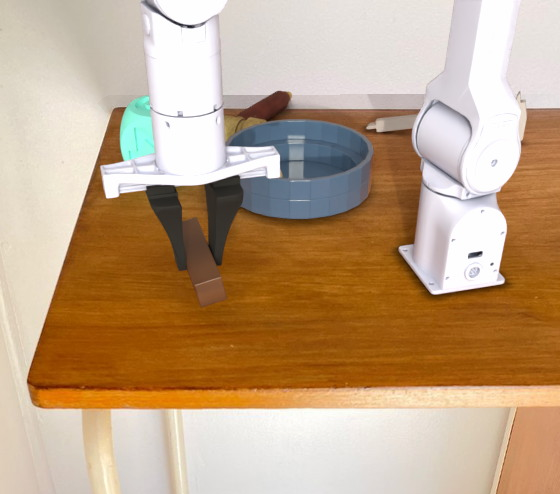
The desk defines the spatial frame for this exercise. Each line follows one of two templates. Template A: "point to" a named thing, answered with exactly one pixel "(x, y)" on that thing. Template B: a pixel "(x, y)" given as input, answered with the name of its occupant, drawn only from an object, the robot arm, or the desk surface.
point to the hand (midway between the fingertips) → (198, 262)
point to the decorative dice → (137, 130)
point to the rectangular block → (201, 265)
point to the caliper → (409, 120)
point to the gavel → (257, 112)
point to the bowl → (308, 168)
